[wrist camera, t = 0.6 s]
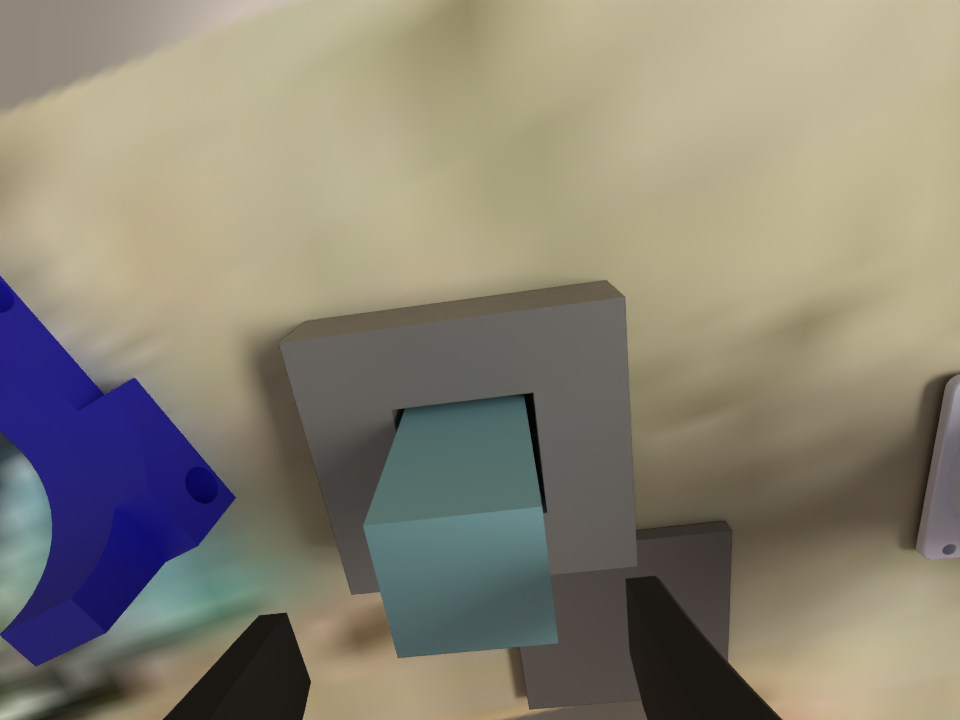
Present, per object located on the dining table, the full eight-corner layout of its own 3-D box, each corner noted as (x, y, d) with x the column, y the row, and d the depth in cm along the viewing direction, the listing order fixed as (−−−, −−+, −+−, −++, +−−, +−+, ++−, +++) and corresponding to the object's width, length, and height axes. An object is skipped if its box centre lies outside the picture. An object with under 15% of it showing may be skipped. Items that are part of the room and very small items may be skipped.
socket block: (606, 280, 17) (625, 296, 15) (620, 521, 21) (637, 566, 18) (305, 321, 18) (278, 342, 16) (366, 548, 21) (351, 594, 19)
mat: (725, 521, 21) (732, 530, 20) (721, 680, 24) (726, 693, 23) (505, 544, 21) (505, 554, 21) (528, 697, 24) (529, 709, 24)
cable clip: (237, 495, 21) (143, 614, 15) (154, 538, 22) (35, 666, 16) (17, 233, 17) (-212, 260, 12) (-72, 295, 18) (-326, 350, 12)
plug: (520, 373, 19) (541, 506, 11) (531, 467, 20) (558, 643, 12) (412, 386, 19) (362, 526, 11) (431, 478, 20) (397, 658, 13)
